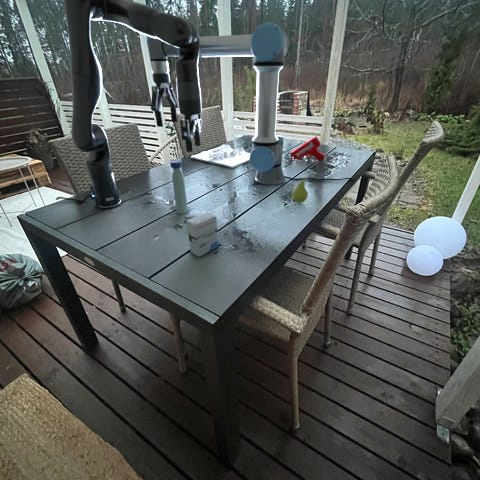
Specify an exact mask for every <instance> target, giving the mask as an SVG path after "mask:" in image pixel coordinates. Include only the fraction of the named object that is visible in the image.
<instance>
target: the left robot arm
mask: <svg viewBox="0 0 480 480" xmlns="http://www.w3.org/2000/svg"><path fill="white" fill-rule="evenodd" d="M63 6H64V14H65V19H66V20H65V21H66V26H67V34H68V47H69V57H70V58H69V59H70V60H69V61H70V82H71V93H72V94H71V98H72V103H71V104H72V116H71V117H72V118H71V139H72V142H73V145H74V146H75V148H76V149H77V150H79V151H80V152H83V153H89V154H88V156H87V158H86V159H85V160H84V164H85V167H86V170H87V173H88V177H89V180H90V182H91V184H90V190H91V193H89V194H88V195H86V196H85V197H84V199H79V198H69V197H64V196H58V197H56V198H55V201H58V200H59V199H62V200H65V201H76V202H81V203H84V202H86V201H87V199H88V198H90V199H91V200H94V202H95V206H96V207H98V208H99V209H112V208H116V207H118V206H120V205H121V204H122V200H121V197H120V194H119V193H120V192H119V190H118V186H117V182H116V178H115V175H114V171H113V168H112V163H111V159H112V158H111V150H110V146H109V141H108V137H107V134H106V132H105V130H104V129H103V127H101V126H100V125H99V124H98V123H94V122H93V116H94V113H95V110H96V108H97V105H98V104H99V101H100V98H101V95H102V90H103V71H102V66H101V63H100V60H99V59H98V56H97V53H96V52H95V50H94V47H93V43H92V38H91V21H105V22H113V23H118V24H121V25H123V26H126V27H127V28H129V29H130V30H133V31H134V32H137V33H139V34H142V35H144V36H146V35H147V36H150V37H152V38H155V39H160V40H161V41H163V42H165V43H167V44H170V45H172V46H175V47H178V48H179V57H177V59H176V60H175V62H174V70H175V71H174V72H175V80H176V96H177V97H176V98H177V102H178V112H179V114H180V115H183V116H184V117H183V119H180V120H179V124H180V135H181V140H183V141H184V142H185V151H186V152H187V153H192V152H194V146H196V147H201V146H202V137H201V135H202V133H203V119H202V113H203V106H202V91H201V85H200V77H199V76H200V74H199V66H198V65H199V59H200V57H199V46H200V39H199V37H200V32H199V30H198V27H197V25H196V24H195V22H194V21H192V20H190V19H187V18H184V17H182V16H178V15H174V14H171V13H167V12H164V11H162V10H160V9H158V8H156V7H152V6H150V5H147V4H144V3H140V2H137V1H132V0H63ZM193 139H194V143H193ZM193 144H194V145H193Z"/></svg>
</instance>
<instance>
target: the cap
mask: <svg viewBox="0 0 480 480" xmlns="http://www.w3.org/2000/svg"><path fill="white" fill-rule="evenodd" d="M169 164H170V168H171V169H173V168H175V169H176V168H182V167H183V163H182V160H181V159H172V160H170V161H169Z"/></svg>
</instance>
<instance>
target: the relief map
mask: <svg viewBox="0 0 480 480" xmlns="http://www.w3.org/2000/svg"><path fill="white" fill-rule="evenodd" d="M249 156H250V152H248V151H246V150H245V149H244V148H243V147H240V148H237V149H234V148H232V147H231V146H230V145H229V144H224V143H223V144H222V145H220V146H218V147H215V148H212V149H209V150H205V151H201V152H200V153H198V154H194V155H191V156H190V158H191V159H192V160H197V161H201V162H205V163H209V164H210V163H211V164H214V165H218V166H221V167H222V166H223V167H228V168H231V169H233V168H234V169H235V168H236V167H238V166H241V165H242V164H246V163H248V162H250V160H249Z"/></svg>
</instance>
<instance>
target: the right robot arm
mask: <svg viewBox="0 0 480 480" xmlns="http://www.w3.org/2000/svg"><path fill="white" fill-rule="evenodd" d="M145 36H146V46H147V50H148V55H149V63H150V69H151V72H152V74H151V76H152V83H153V84H155V85H152V86H151V102H150V110H151V111H152V112H154V117H155V121H156V127H158V128H163V127H164V123H163V116H162V111H161V106H162V102H163V99H164V98H166V100H167V102H168V103H169V106H170V109H169V110H170V116H171V117H170V118H171V122H172V123H173V122H174V123H178V122H179V121H178V114H177V108H179V106H178V98H177V97H176V96H177V95H176V94H175V91H174V87H173V84H170V83H171V75H170V73H169V72H170V68H169V60H168V57H175V58H176V57H177V58H179V48H178V47H175V46H172V45H170V44H167V43H165V42H163V41H161V40H160V39H155V38H152V37H150V36H147V35H145ZM199 39H200V46H199V58H211V57H212V58H218V57H219V58H220V57H221V58H222V57H224V58H225V57H226V58H227V57H229V58H230V57H253V68H254V69H255V71H256V107H255V108H256V110H255V135H254V136H253V137H252V139H251V151H250V152H249V154H250V156H249V160H250V161H249V163H250V166H251V167H252V168H253V169H254V170H256V174H255V178H254V181H255V183H258V184H259V185H262V186H263V185H264V186H279V185H281V184H283V183H284V181H285V179H287V180H290V181H291V180H292V181H302V180H305V179H306V178H307V177H299V178H298V177H297V178H295V177H291V176H290V177H289V176H285V175H284V172H283V171H284V170H283V167H282V165H283V154H284V153H283V152H284V137H283V135H280V134H279V135H278V134H276V129H277V128H276V127H277V113H278V112H277V111H278V95H279V80H280V79H279V77H280V71H281V70H282V69H283V68H284V61H285V60H284V59H285V56H286V54H287V52H288V49H289V47H290V46H289V45H290V39H289V35H288V33H287V31H286V30H285V29H284V28H283V27H281V26H280V25H278V24H277V23H276V22H271V21H268V22H267V21H266V22H262V23H261V24H259V25H258V26H257V27H256V28H255V29H254V30H253V32H252V34H231V35H230V34H228V35H208V36H199ZM306 180H313V181H343V180H349V181H353V179H352V178H351V177H350V178H345V179H334V178H320V179H315V177H309V178H307V179H306ZM306 180H305V181H306Z"/></svg>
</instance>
